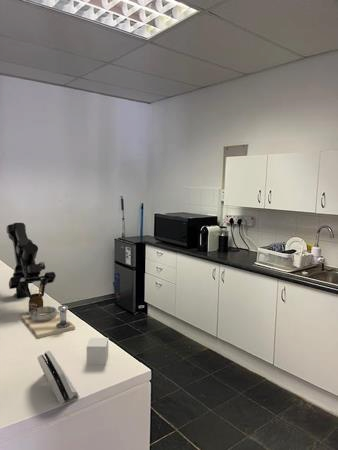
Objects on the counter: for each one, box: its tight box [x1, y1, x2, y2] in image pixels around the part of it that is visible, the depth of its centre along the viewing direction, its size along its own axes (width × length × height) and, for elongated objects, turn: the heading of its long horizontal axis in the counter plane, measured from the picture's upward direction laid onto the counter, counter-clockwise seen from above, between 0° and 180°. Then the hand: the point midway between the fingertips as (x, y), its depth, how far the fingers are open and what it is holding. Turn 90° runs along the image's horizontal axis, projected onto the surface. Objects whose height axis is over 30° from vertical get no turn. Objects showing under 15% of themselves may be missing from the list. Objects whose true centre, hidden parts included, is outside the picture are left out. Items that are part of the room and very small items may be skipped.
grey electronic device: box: [36, 350, 80, 405], centre depth 92 cm, size 17×5×10 cm, turn 34°
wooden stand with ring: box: [21, 304, 76, 339], centre depth 134 cm, size 22×14×9 cm, turn 38°
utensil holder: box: [28, 285, 44, 312], centre depth 145 cm, size 6×6×12 cm
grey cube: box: [86, 337, 109, 365], centre depth 107 cm, size 6×6×6 cm
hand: (37, 297), depth 144 cm, fingers closed on utensil holder, 5 cm apart
